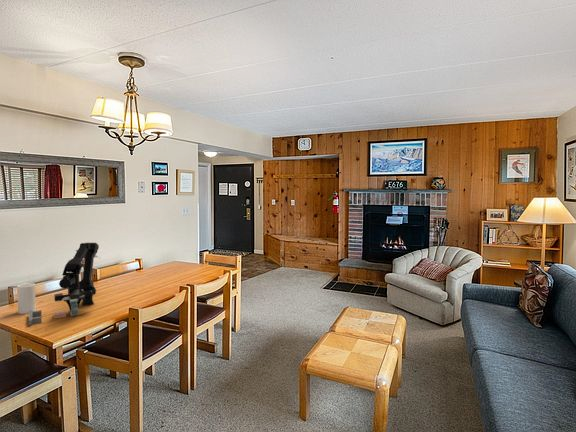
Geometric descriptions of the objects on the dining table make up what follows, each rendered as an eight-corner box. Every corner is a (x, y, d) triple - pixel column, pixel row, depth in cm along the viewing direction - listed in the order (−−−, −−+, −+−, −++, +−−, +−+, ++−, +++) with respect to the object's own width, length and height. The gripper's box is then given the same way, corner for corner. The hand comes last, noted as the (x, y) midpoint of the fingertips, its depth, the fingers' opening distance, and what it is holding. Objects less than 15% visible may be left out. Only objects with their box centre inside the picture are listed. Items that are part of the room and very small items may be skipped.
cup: (26, 314, 198) (25, 287, 197) (14, 313, 199) (13, 286, 198) (39, 309, 206) (38, 283, 205) (27, 308, 207) (26, 282, 206)
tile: (53, 315, 198) (53, 311, 198) (65, 314, 201) (65, 309, 201) (53, 319, 193) (53, 315, 193) (65, 317, 196) (65, 313, 196)
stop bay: (29, 315, 196) (29, 310, 196) (41, 313, 199) (41, 308, 199) (28, 326, 182) (28, 320, 181) (41, 324, 185) (41, 318, 184)
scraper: (69, 309, 205) (69, 299, 204) (76, 308, 207) (75, 298, 206) (70, 315, 195) (70, 305, 195) (77, 314, 197) (77, 304, 197)
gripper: (54, 289, 188) (55, 316, 189) (93, 284, 199) (93, 310, 200) (54, 284, 197) (54, 310, 198) (91, 280, 208) (91, 305, 209)
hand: (73, 309), depth 201 cm, fingers closed on scraper, 3 cm apart
